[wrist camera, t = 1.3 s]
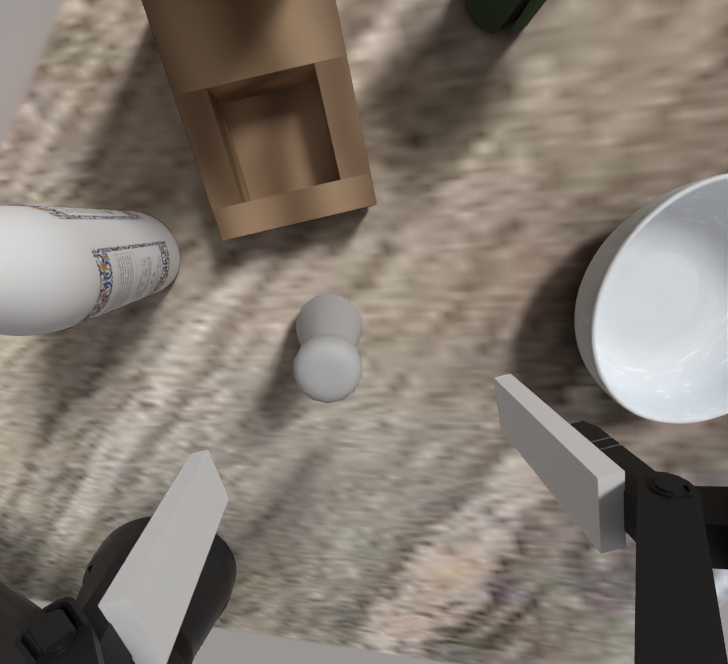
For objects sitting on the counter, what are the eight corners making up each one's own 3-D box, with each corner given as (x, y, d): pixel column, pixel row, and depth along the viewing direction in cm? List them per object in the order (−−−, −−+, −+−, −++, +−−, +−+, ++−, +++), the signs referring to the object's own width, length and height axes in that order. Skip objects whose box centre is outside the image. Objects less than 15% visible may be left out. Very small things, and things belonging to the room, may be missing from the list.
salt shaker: (306, 354, 35) (290, 427, 22) (291, 296, 33) (265, 342, 21) (366, 341, 35) (383, 408, 22) (354, 283, 33) (365, 321, 21)
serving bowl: (789, 270, 36) (890, 281, 30) (635, 423, 40) (693, 462, 34) (662, 128, 31) (749, 103, 25) (501, 318, 35) (539, 340, 29)
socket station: (236, 238, 31) (129, 257, 15) (159, 0, 26) (-133, -364, 10) (371, 206, 31) (410, 190, 15) (321, -38, 26) (298, -461, 10)
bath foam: (78, 244, 30) (-355, 283, 11) (139, 193, 30) (-215, 143, 11) (140, 308, 32) (-140, 435, 13) (199, 262, 32) (-8, 326, 12)
